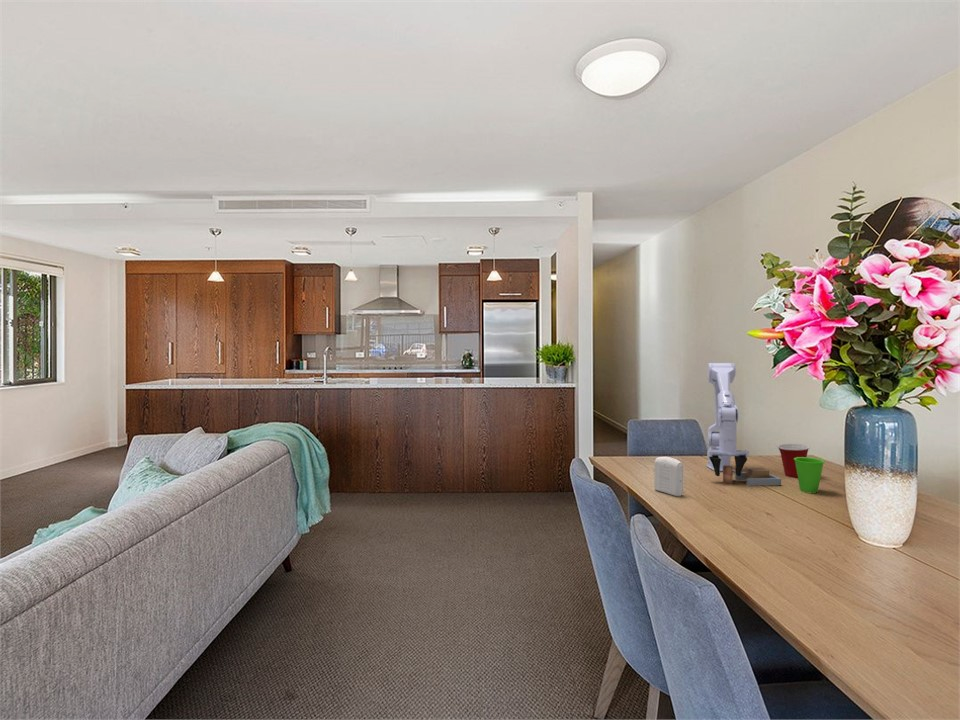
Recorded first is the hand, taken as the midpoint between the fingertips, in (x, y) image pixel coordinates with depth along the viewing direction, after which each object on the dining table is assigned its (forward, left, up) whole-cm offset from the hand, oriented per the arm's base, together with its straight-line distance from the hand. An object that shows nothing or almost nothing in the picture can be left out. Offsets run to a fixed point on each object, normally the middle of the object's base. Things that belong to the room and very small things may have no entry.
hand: (727, 475), depth 189 cm
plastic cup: (-9, +30, -3) cm, 31 cm away
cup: (+12, +23, -3) cm, 26 cm away
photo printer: (+13, -26, -3) cm, 30 cm away
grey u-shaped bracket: (0, +11, -3) cm, 11 cm away
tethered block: (0, +6, -3) cm, 7 cm away
